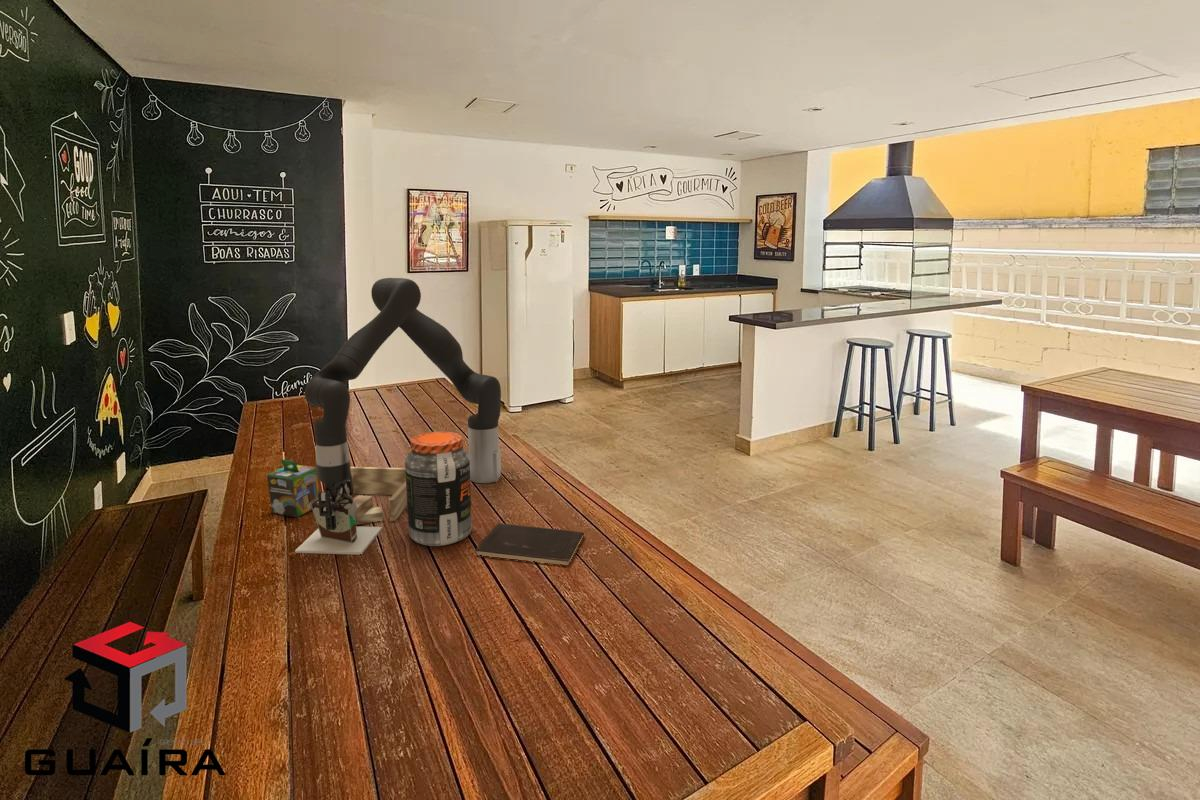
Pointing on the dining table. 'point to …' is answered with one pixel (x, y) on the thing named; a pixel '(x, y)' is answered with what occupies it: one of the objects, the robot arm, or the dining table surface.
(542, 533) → the hardcover book
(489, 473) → the robot arm
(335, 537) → the food container
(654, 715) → the dining table surface
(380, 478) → the frame
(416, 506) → the supplement tub
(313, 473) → the chalk box
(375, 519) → the offcut lower
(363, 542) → the mat
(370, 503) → the offcut upper
